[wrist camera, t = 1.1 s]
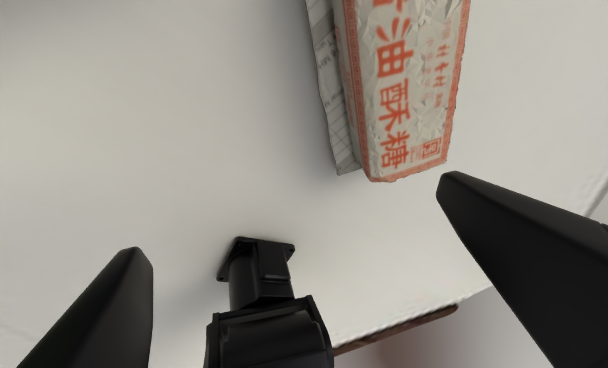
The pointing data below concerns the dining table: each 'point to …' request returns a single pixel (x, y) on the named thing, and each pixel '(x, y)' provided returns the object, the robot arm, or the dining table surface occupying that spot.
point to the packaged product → (388, 81)
